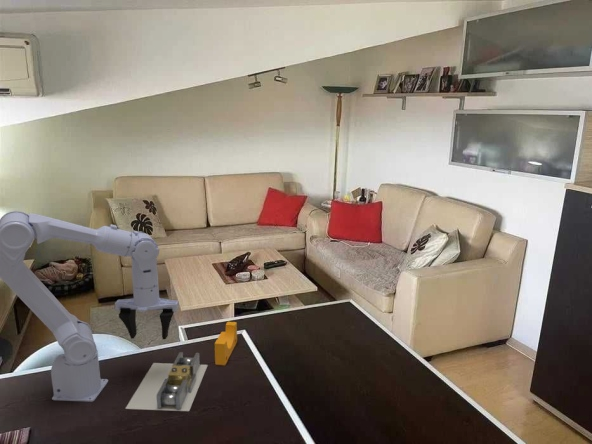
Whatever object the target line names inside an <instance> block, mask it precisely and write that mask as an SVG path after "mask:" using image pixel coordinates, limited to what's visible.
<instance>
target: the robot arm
mask: <svg viewBox="0 0 592 444" xmlns="http://www.w3.org/2000/svg"><path fill="white" fill-rule="evenodd" d="M35 239H36V243H37V245H39V244H41V243H44V242H47V241H48V240H50V239H51V240H52V239H58V240H65V241H71V242H76V243H77V242H78V243H84V244H89V245H93V246H94V248H95V250H96V251H97V252H100V253H104V254H110V255H116V256H121V257H124V258H131V278H132V279H131V280H132V292H133V297H132V298H125V299H117V300H116V301H115V302H114V307H115V311H119V313H118V318H119V319H120V320H121V321H122V323H123V325H124V326H125V328H126V330H127V332H128V334H129V337H130V339H132V340H133V339H135V338H136V336H137V334H138V333H137V323H136V322H137V321H136V320H137V319H136V316H137V315H136V313H137V312H139V313H140V312H141V313H145V312H147V311H161V312H160V314H159V319H160V322H161V323H160V324H161V338H162V340H166V339H167V338H168V335H169V329H170V323H171V320H172V318H173V317H174V313H175V312H178V311H179V309H180V307H179V306H180V305H179V304H180V303H179V300H174V299H173V300H172V299H168V298H167V299H166V298H163V297H160V289H159V287H160V286H159V272H158V263H157V258H158V256H159V254H160V248H159V246H158V243H157V241H155V240H154V239H153V238H152V236H151V235H149V234H147V233H145V232H144V231H137V230H133V231H128V230H124V229H119V228H118V226H117V225H116V224H112V223H111V224H110V226H108V225H103V226H101V227H99V228H96V229H95V228H92V227H88V226H84V225H80V224H76V223H73V222H69V221H65V220H62V219H57V218H54V217H49V216H46V215H44V214H43V215H42V214H38V213H33V212H32V213H31V212H30V213H26V212H24V211H20V210H13V211H8V212H6V213H5V214H3V216H1V217H0V279H1V280H2V281H3V282H4V283H5V284H6V285H7V287H8V288H10V290H12V292H13V293H14V294H15V295H16V296H17V297H18V298H19V299H20V300H21V301H22V302H23V303H24V304H25V305H26V306H27V307H28V309H30V310H31V311H32V313H33V314H34V315H35V316H36V317H37V318H38V319H39V320H40V321H41V323H43V325H44V326H46V328H48V330H49V331H51V333H52V334H53V336H54V338H55V340H56V342H57V343H58V345H59V346H60V347H61V349H62V350H63V354H58V355H57V356H56V357H55V358H54V360H53V362H52V364H51V370H50V374H51V384H52V390H53V396H52V397H51V400H53V401H67V402H69V401H70V402H89V403H90V402H91V403H92V402H94V401H95V400H96V399H97V398H98V397H99V395H100V393H101V392H102V391H103V389H104V388H105V386H106V385H107V384H108V382H109V379H107V378H101V372H100V360H99V351H98V347H97V345H96V342H95V340H94V336H93V329H92V327H91V325H90V324H89V323H88V322H86V321H82V320H80V319H79V318H78V317H77V316H76V315H74V314H71V313H70V312H69V310H67V308H66V307H64V305H63V304H62V303H61V302H60V301H59V299H57V298H56V297H55V295H54V294H53V293H52V292H51V291H50V290H49V289H48V288H47V286H45V284H44V283H43V282H42V281H41V280H40V279H39V278H38V276H37V275H36V274H35V273H34V272H33V271H32V270H31V269H30V268H29V267H28V265H27V264H26V263H25V262H24V260H25V256H26V253H27V251H28V250H29V248H30V247H31V246H32V244H33V243H34V240H35ZM136 311H137V312H136Z"/></svg>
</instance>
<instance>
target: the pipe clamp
mask: <svg viewBox="0 0 592 444" xmlns="http://www.w3.org/2000/svg"><path fill="white" fill-rule="evenodd" d="M237 326H238V323H237V322H235V321H227V322H226V324H225V331H221V332H220V334H219V336H218V337H217V339H216V340H215V342H214V362H215V363H214V364H215V366H216V365H218V366H226V365H227V363H228V360H229V358H230V356H231V354H232V353H233V350H234V349H235V347H236V345H237V343H238V327H237Z"/></svg>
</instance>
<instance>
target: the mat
mask: <svg viewBox="0 0 592 444" xmlns="http://www.w3.org/2000/svg"><path fill="white" fill-rule="evenodd" d="M173 364H174V363H168V362H167V363H166V362H165V363H164V362H163V363H162V362H161V363H160V362H152V365H151V367H149V370H148V371H147V372H146V374H145V376H144V377H143V379H142V381H141V382H140V384H139V385H138V387H137V389H136V390H135V392H134V393H133V395H132V396H131V398H130V400H129V402H128V404H127V405H126V406H125V409H126V410H148V411H172V412H173V411H174V412H190V410H191V408H192V405H193V402H194V400H195V398H196V395H197V393H198V390H199V389H200V388H199V387H200V386H201V383H202V380H203V377H204V375H205V373H206V370H207V368H208V366H209V365H208V364H200V366H199V368H198V370H197V373H196V382H195V384H194V386H193V389H192V391H191V393H187V396H186V398H185V400H184V403H183V405H182V407H181V409H180V410H177V408H176V405H163V407H162V409H157V393H158V391H159V390H160V388H161V386H162V384H163V382H164V380H165V379H167V378H168V375H169V373H170V371H171V369H172V367H173ZM187 390H188V388H187Z"/></svg>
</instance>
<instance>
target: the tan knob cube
mask: <svg viewBox="0 0 592 444" xmlns="http://www.w3.org/2000/svg"><path fill="white" fill-rule="evenodd" d="M168 378H169V385H181V384H182V382H183V380H184V379H185V380H187V388H188V386H189V384H190V382H191V374H190V366H177V365H173V367H172V369H171V371H170V373H169V375H168Z"/></svg>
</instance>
